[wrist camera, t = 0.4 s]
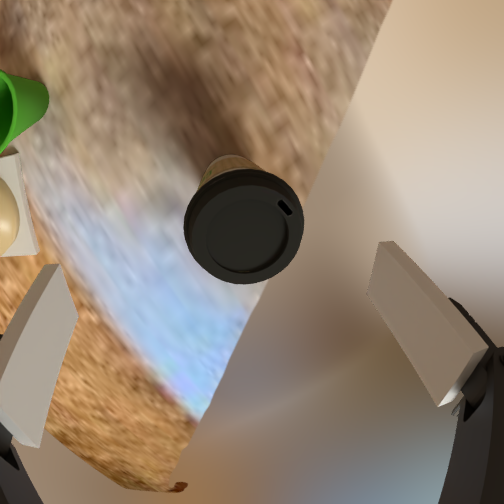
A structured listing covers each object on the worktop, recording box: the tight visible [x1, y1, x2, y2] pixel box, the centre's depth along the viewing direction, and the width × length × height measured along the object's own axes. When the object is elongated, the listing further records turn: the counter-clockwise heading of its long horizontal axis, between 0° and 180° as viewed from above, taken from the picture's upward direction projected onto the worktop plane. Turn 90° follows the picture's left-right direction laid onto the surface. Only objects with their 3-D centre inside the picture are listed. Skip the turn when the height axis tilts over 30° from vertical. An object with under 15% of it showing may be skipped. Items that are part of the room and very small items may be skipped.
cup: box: [0, 69, 49, 154], centre depth 23 cm, size 9×9×11 cm
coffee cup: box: [183, 155, 304, 284], centre depth 31 cm, size 10×10×15 cm
